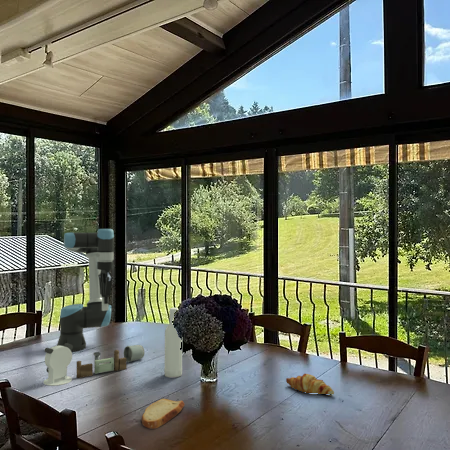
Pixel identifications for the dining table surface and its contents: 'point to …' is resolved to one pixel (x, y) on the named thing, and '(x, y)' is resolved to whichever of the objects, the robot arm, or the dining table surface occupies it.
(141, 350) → the ceramic mug
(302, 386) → the croissant
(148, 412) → the slice of bread
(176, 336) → the bottle
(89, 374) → the fence far side
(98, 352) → the post
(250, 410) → the dining table surface
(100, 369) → the gate
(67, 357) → the cream upright rounded piece
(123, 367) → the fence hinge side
